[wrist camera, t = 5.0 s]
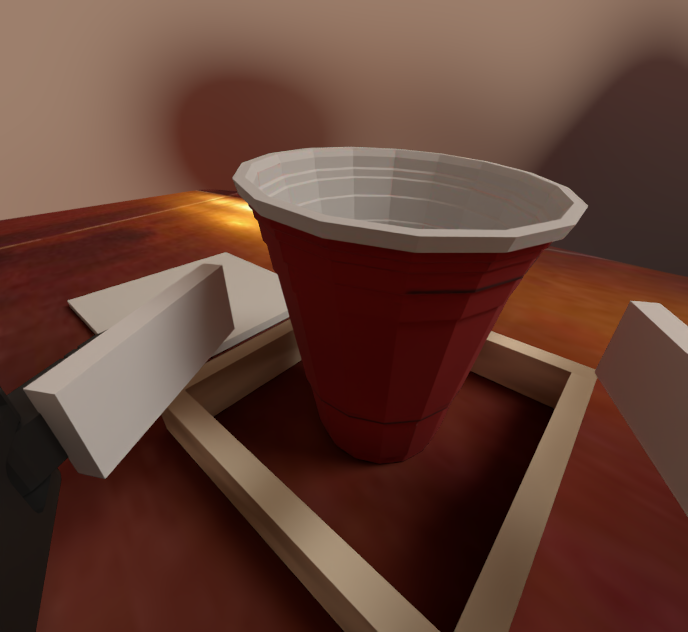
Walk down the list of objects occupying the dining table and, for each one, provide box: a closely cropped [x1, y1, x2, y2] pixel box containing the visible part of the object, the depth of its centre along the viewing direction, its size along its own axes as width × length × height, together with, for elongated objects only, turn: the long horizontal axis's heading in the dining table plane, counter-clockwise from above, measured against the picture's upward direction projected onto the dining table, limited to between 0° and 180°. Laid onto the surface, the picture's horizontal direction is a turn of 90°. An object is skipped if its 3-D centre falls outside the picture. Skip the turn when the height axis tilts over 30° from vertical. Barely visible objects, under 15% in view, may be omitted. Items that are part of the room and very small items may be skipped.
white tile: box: [68, 252, 289, 357], centre depth 27 cm, size 14×14×1 cm
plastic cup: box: [232, 147, 588, 464], centre depth 14 cm, size 11×11×12 cm
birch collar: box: [161, 320, 597, 632], centre depth 17 cm, size 15×15×2 cm
